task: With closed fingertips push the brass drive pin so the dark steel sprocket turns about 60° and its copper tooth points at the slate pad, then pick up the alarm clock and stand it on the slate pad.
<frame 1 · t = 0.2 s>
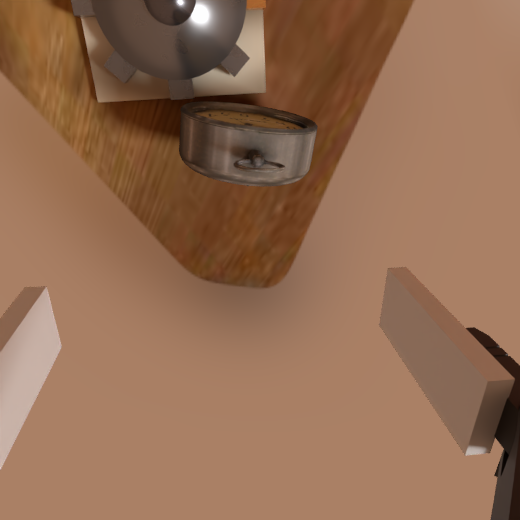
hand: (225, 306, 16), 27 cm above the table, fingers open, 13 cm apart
alarm clock: (240, 132, 41), on the table
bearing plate: (172, 1, 35), on the table
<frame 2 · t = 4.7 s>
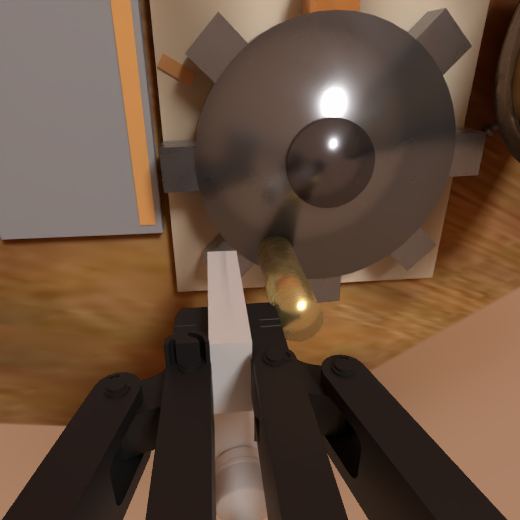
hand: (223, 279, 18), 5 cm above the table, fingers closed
pad: (59, 88, 19), on the table
sprocket: (341, 174, 17), point 5 cm above the table, hinge at 1.5°, touching gripper
eye dropper bottle: (230, 343, 27), on the table
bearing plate: (313, 150, 22), on the table
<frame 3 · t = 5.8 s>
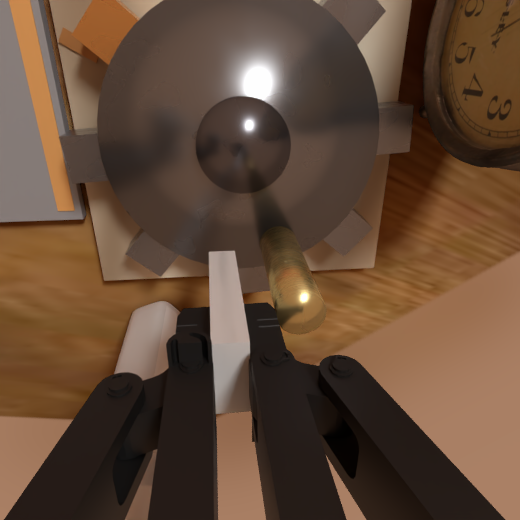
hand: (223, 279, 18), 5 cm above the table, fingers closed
sprocket: (246, 156, 16), point 5 cm above the table, hinge at 49.1°, touching gripper
alarm clock: (473, 16, 19), on the table
eye dropper bottle: (168, 334, 26), on the table
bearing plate: (239, 132, 21), on the table
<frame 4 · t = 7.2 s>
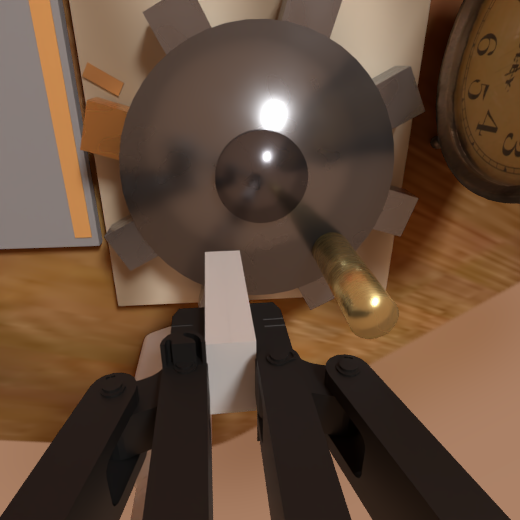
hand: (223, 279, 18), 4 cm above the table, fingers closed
sprocket: (266, 189, 16), point 5 cm above the table, hinge at 73.1°
alarm clock: (482, 52, 20), on the table
eye dropper bottle: (179, 358, 26), on the table
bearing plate: (254, 162, 21), on the table
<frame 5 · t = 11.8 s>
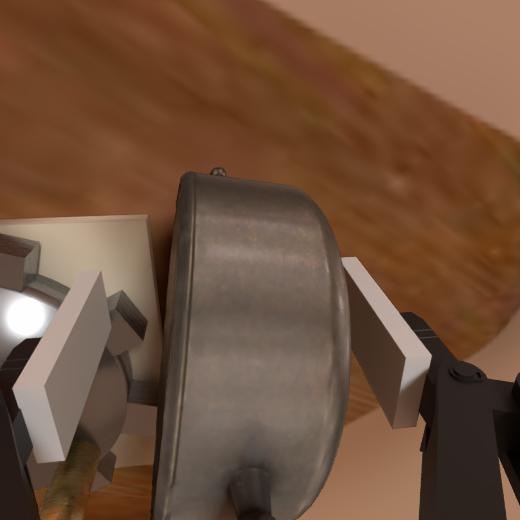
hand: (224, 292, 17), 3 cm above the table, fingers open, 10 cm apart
alarm clock: (228, 258, 20), on the table
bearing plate: (14, 360, 21), on the table
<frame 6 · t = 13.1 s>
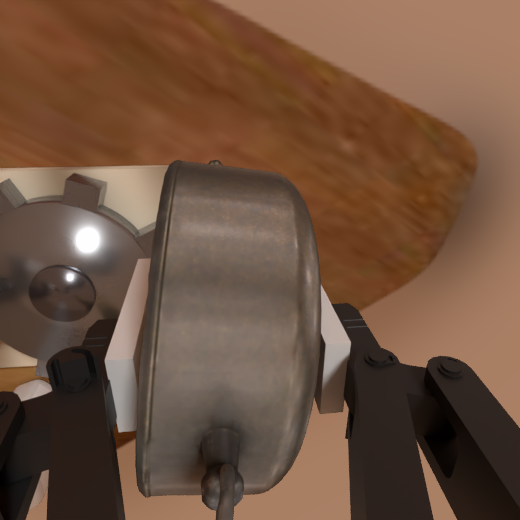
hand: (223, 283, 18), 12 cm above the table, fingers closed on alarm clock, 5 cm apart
sprocket: (53, 309, 25), point 5 cm above the table, hinge at 71.2°
alarm clock: (228, 249, 21), point 8 cm above the table, touching gripper
eye dropper bottle: (48, 401, 35), on the table
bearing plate: (77, 271, 30), on the table
when the fingers open (3 cm above the table, at t = 18.7 s): alarm clock stays where it is, resting on pad.
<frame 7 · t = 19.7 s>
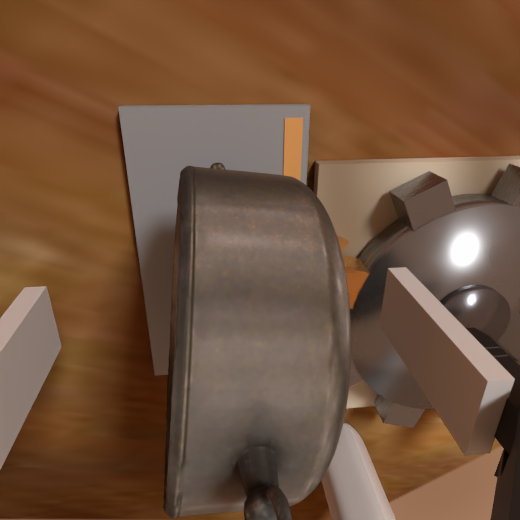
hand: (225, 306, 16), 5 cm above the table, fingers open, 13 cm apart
pad: (222, 252, 21), on the table
sprocket: (491, 344, 19), point 5 cm above the table, hinge at 71.2°
alarm clock: (231, 252, 21), resting on pad
eye dropper bottle: (338, 447, 29), on the table
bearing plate: (437, 291, 24), on the table
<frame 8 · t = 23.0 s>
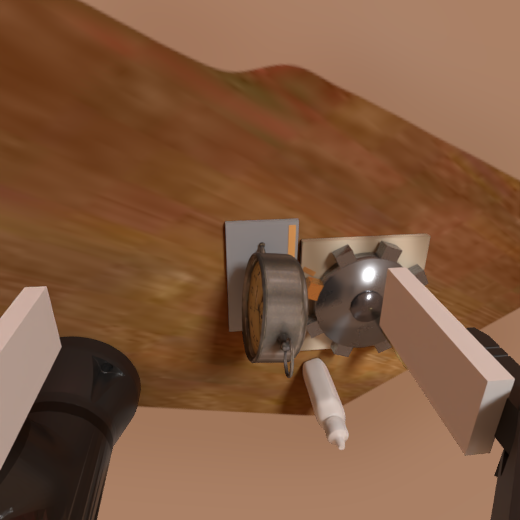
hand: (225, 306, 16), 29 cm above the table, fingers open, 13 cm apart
pad: (261, 276, 49), on the table
sprocket: (373, 315, 47), point 5 cm above the table, hinge at 71.2°
alarm clock: (265, 276, 48), resting on pad
eye dropper bottle: (315, 372, 56), on the table
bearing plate: (358, 293, 51), on the table
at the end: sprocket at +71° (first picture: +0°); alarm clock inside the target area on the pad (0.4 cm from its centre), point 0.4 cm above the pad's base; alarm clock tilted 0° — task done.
